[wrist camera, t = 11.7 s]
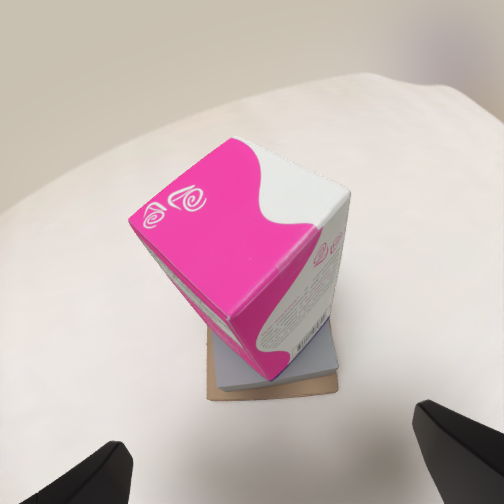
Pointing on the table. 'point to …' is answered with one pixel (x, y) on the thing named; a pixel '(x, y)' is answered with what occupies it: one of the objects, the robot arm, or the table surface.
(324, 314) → the supplement box
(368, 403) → the table surface
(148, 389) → the table surface
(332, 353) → the tower top
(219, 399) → the tower base
